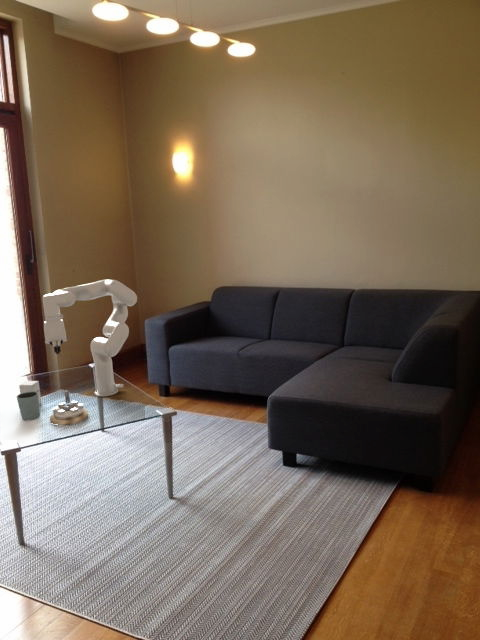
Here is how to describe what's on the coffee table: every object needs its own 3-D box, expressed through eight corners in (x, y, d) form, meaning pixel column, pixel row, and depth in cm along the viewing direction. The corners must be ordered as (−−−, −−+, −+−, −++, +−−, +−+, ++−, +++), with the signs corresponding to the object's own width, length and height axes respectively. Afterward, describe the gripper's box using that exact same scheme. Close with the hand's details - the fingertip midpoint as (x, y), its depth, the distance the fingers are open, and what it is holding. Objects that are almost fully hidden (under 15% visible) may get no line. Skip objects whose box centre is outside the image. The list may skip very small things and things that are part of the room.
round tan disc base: (86, 409, 296) (85, 404, 295) (90, 421, 279) (89, 416, 279) (49, 415, 290) (48, 411, 290) (51, 428, 274) (50, 423, 273)
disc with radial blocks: (54, 411, 289) (52, 392, 287) (83, 407, 293) (81, 388, 290) (53, 421, 276) (50, 401, 274) (83, 417, 279) (81, 397, 277)
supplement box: (34, 408, 303) (31, 385, 300) (21, 408, 304) (18, 385, 301) (42, 403, 310) (38, 380, 307) (29, 403, 311) (26, 380, 308)
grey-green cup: (31, 422, 284) (28, 398, 281) (15, 420, 287) (11, 397, 285) (45, 414, 293) (42, 391, 290) (29, 412, 296) (25, 390, 294)
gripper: (67, 315, 297) (72, 349, 301) (37, 319, 292) (42, 354, 296) (69, 317, 290) (73, 353, 294) (37, 321, 285) (42, 357, 289)
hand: (57, 353), depth 295 cm, fingers closed
